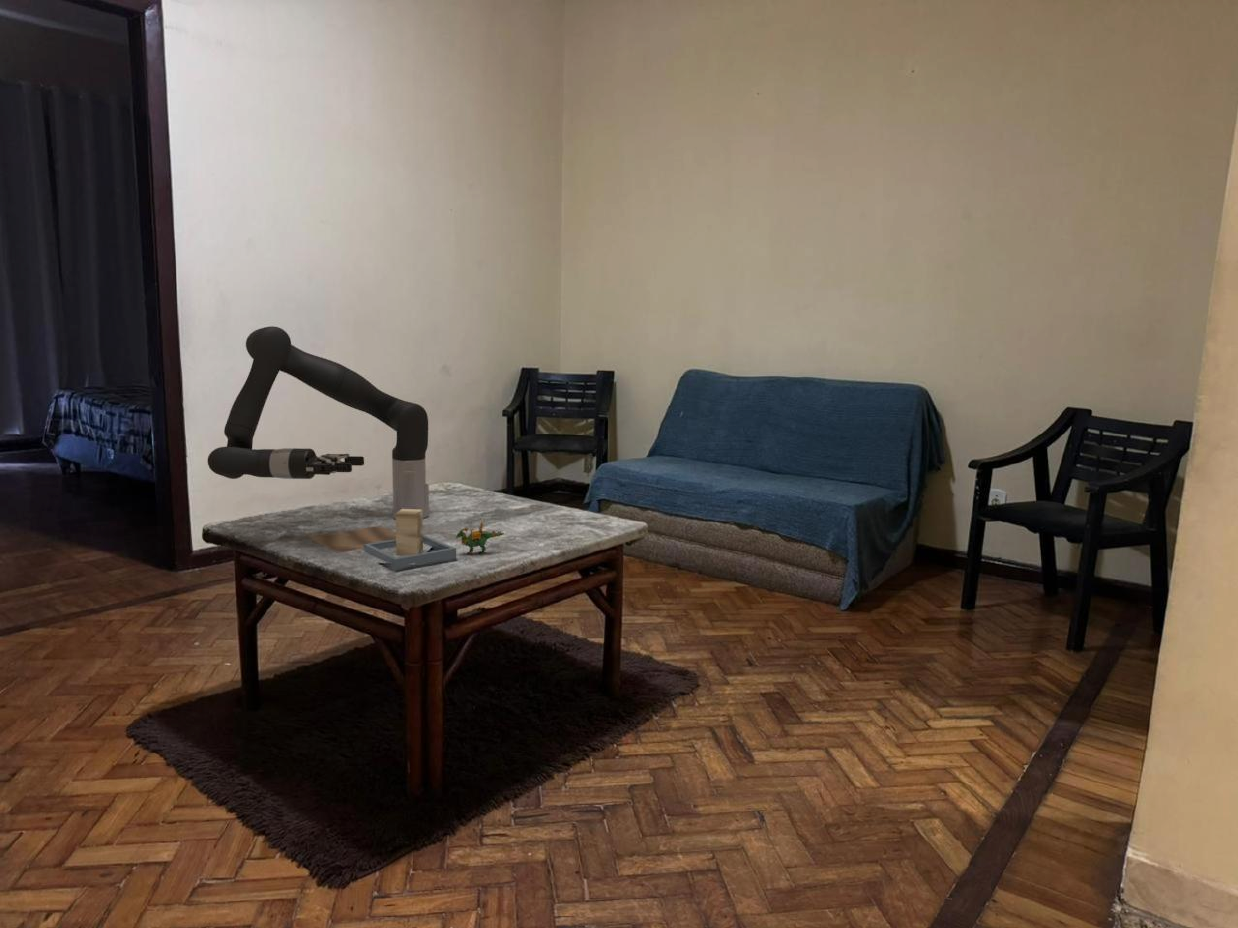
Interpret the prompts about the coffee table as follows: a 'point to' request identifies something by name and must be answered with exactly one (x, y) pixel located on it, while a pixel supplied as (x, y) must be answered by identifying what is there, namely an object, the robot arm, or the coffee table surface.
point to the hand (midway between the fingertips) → (357, 464)
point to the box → (431, 557)
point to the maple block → (409, 532)
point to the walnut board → (354, 538)
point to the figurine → (476, 538)
